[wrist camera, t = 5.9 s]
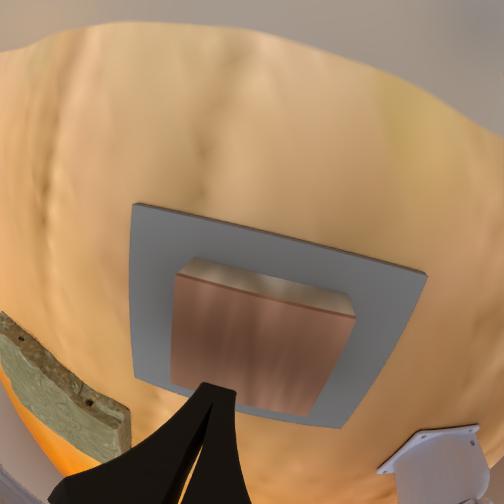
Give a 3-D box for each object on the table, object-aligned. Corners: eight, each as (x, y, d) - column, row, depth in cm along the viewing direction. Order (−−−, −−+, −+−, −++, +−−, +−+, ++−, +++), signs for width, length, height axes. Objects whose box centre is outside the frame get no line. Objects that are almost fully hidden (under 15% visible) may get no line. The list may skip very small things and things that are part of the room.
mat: (424, 272, 13) (428, 276, 12) (340, 423, 17) (340, 428, 17) (137, 202, 14) (132, 204, 13) (137, 373, 18) (134, 377, 18)
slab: (356, 319, 11) (175, 275, 12) (306, 416, 13) (170, 382, 14) (348, 294, 13) (194, 256, 14) (306, 388, 16) (183, 357, 16)
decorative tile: (134, 463, 27) (124, 480, 24) (29, 392, 27) (17, 405, 24) (137, 400, 20) (120, 427, 17) (2, 303, 21) (-18, 316, 18)
